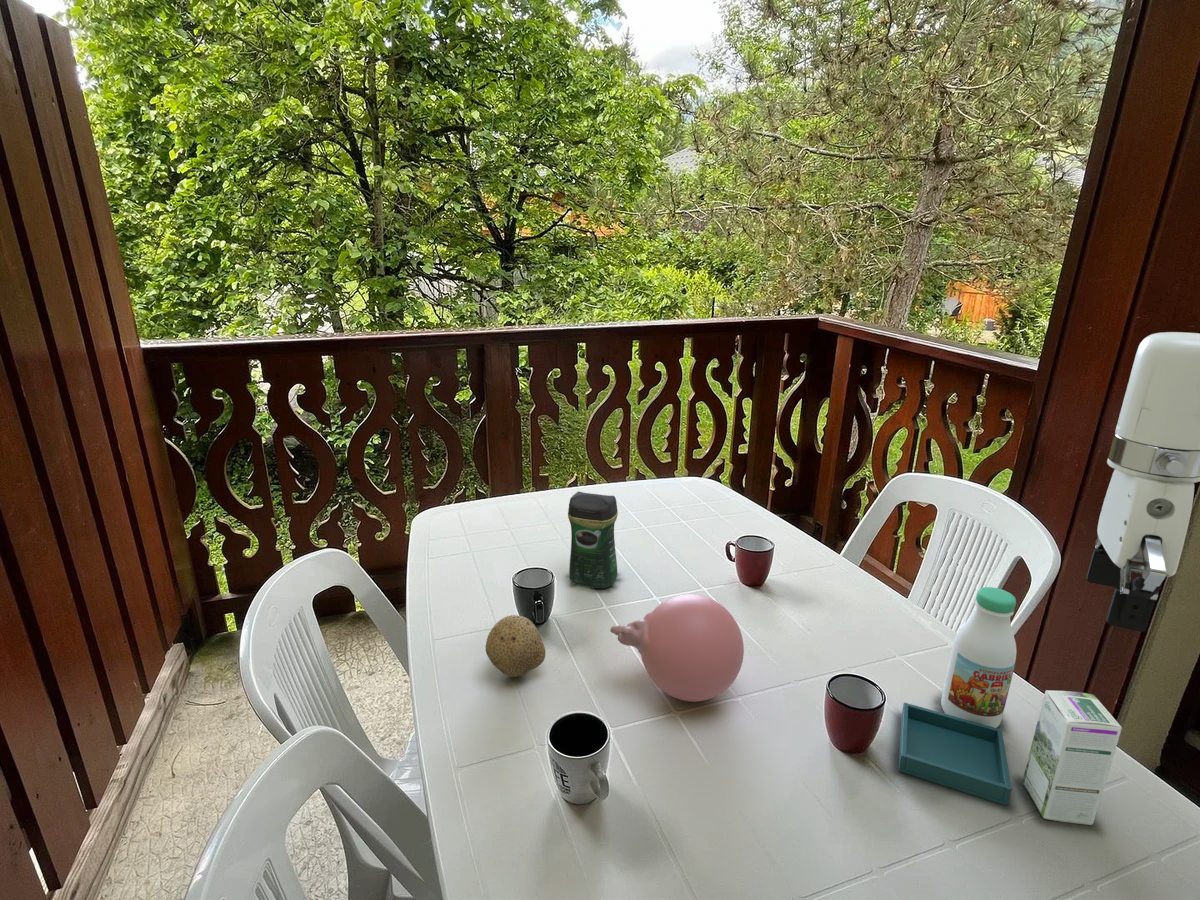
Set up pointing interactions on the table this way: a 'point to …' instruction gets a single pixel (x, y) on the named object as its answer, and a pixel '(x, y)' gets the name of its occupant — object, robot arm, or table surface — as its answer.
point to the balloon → (687, 646)
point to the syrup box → (1070, 756)
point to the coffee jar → (592, 539)
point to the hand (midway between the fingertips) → (1113, 604)
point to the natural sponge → (515, 646)
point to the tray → (954, 753)
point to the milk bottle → (982, 661)
